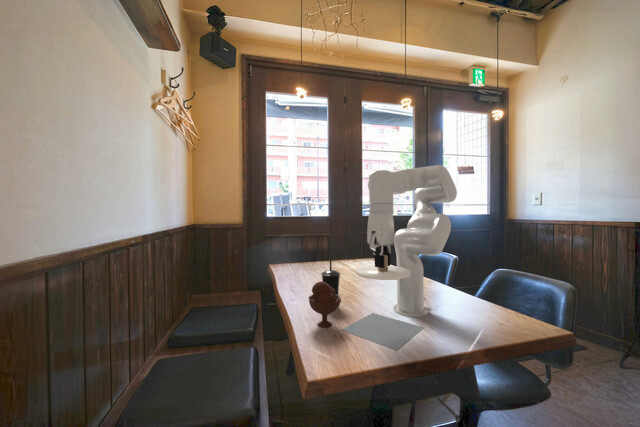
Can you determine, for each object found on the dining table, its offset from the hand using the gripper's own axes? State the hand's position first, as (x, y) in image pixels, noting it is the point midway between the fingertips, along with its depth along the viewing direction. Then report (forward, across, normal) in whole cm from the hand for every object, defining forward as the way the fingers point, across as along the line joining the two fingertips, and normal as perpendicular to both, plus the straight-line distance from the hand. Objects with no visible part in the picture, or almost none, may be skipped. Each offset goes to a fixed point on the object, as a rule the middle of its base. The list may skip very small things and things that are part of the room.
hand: (382, 265), depth 83 cm
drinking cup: (+21, -4, -26) cm, 34 cm away
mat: (+21, +1, 0) cm, 21 cm away
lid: (+2, 0, 0) cm, 2 cm away
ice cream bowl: (+21, +11, -16) cm, 28 cm away
